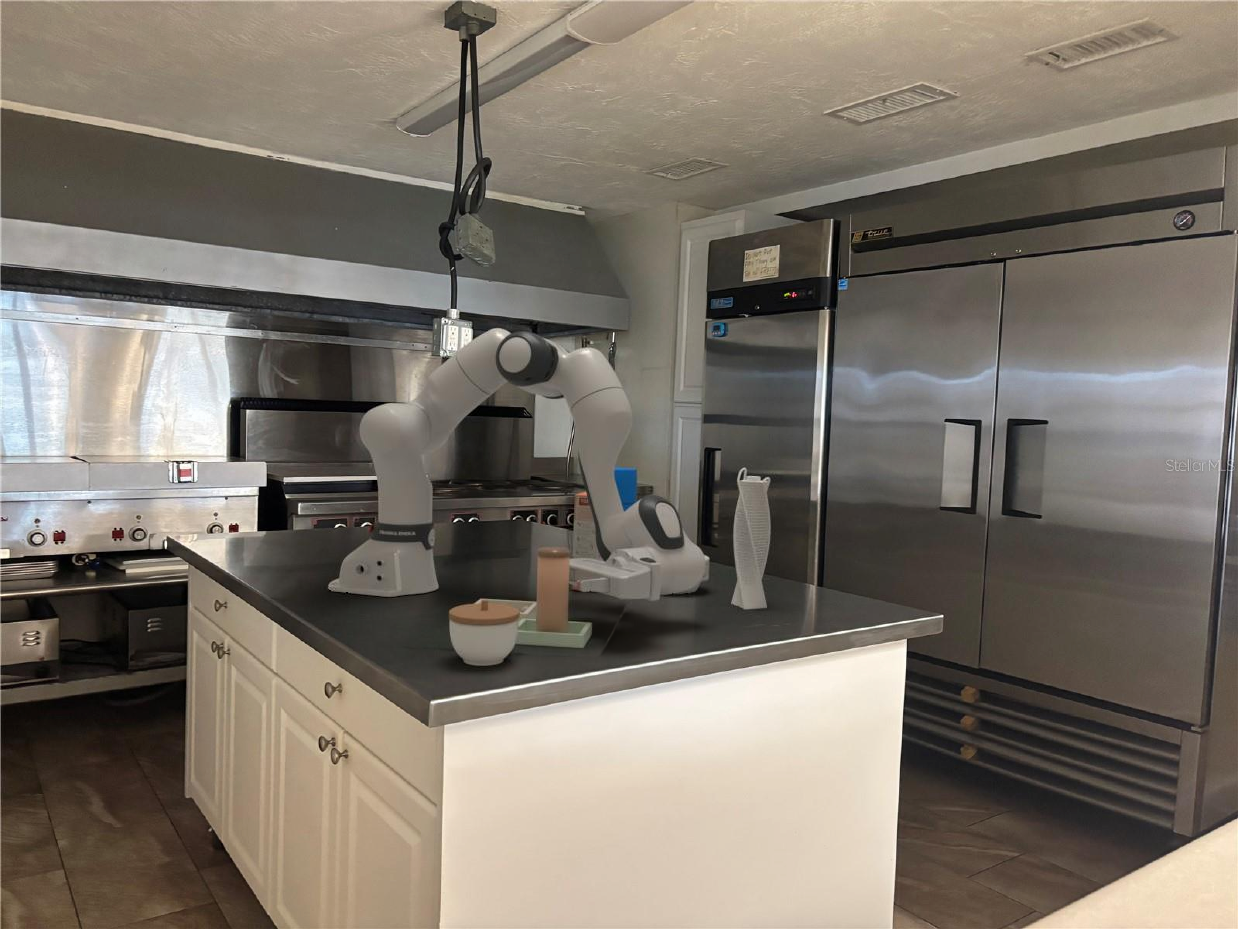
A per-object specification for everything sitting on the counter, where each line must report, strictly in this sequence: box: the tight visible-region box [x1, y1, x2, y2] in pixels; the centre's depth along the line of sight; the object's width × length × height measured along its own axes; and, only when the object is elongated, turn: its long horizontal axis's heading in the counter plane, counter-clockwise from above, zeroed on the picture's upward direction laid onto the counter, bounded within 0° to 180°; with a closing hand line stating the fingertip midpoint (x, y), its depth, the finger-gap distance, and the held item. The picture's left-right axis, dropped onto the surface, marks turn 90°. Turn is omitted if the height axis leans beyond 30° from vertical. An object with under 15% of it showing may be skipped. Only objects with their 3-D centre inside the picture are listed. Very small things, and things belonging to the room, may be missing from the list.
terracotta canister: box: [536, 546, 571, 633], centre depth 149 cm, size 5×5×15 cm
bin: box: [473, 598, 537, 621], centre depth 162 cm, size 22×10×4 cm, turn 83°
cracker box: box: [570, 491, 604, 593], centre depth 200 cm, size 14×6×21 cm, turn 166°
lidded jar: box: [448, 598, 520, 667], centre depth 139 cm, size 11×11×9 cm
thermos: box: [614, 466, 638, 512], centre depth 217 cm, size 11×11×25 cm
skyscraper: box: [731, 467, 771, 610], centre depth 184 cm, size 8×8×28 cm
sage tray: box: [515, 619, 593, 649], centre depth 149 cm, size 12×9×3 cm
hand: (562, 581), depth 150 cm, fingers open, 8 cm apart
